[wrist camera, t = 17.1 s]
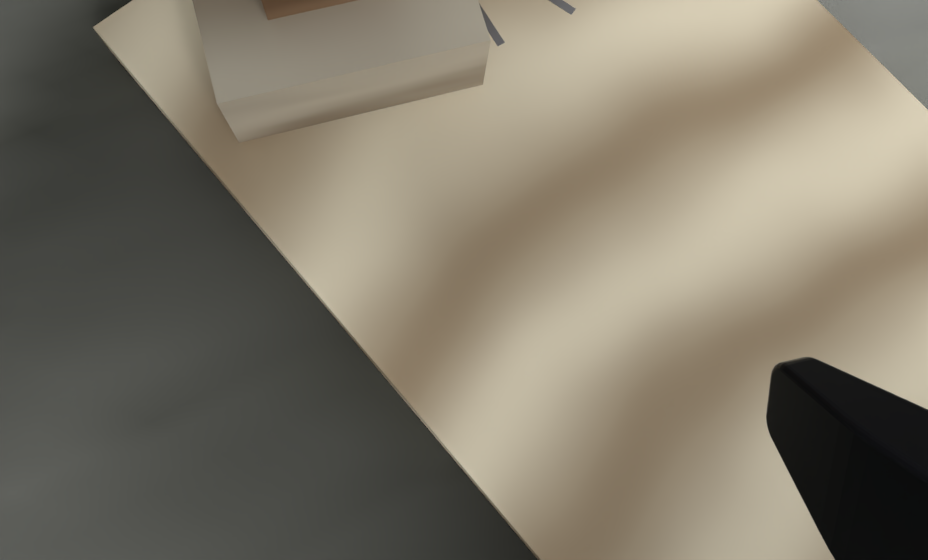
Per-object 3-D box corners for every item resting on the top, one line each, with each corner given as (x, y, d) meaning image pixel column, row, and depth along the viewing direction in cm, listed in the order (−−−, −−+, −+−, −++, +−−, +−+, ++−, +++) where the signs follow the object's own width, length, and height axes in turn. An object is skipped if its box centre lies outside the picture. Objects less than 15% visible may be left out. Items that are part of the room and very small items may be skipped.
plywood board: (1111, 344, 24) (1158, 337, 22) (713, 768, 21) (737, 792, 19) (532, -236, 27) (538, -277, 26) (112, 53, 24) (92, 26, 22)
